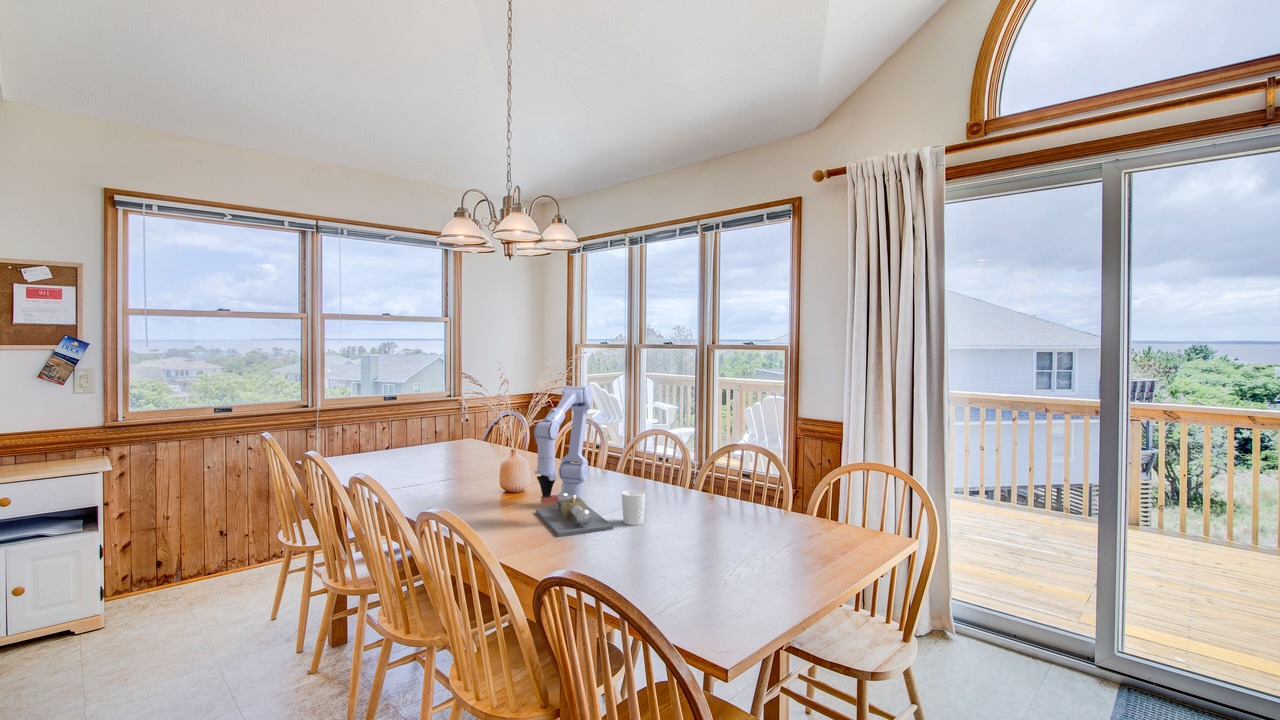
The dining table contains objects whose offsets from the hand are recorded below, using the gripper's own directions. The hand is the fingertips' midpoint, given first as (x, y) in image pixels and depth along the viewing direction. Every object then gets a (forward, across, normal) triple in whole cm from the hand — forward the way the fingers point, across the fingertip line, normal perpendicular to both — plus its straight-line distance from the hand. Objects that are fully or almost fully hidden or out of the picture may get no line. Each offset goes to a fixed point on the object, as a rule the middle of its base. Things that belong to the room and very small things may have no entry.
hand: (546, 497), depth 195 cm
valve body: (+7, +4, +8) cm, 11 cm away
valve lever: (0, +4, +3) cm, 5 cm away
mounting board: (+8, +4, +8) cm, 12 cm away
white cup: (+8, +15, +25) cm, 31 cm away
